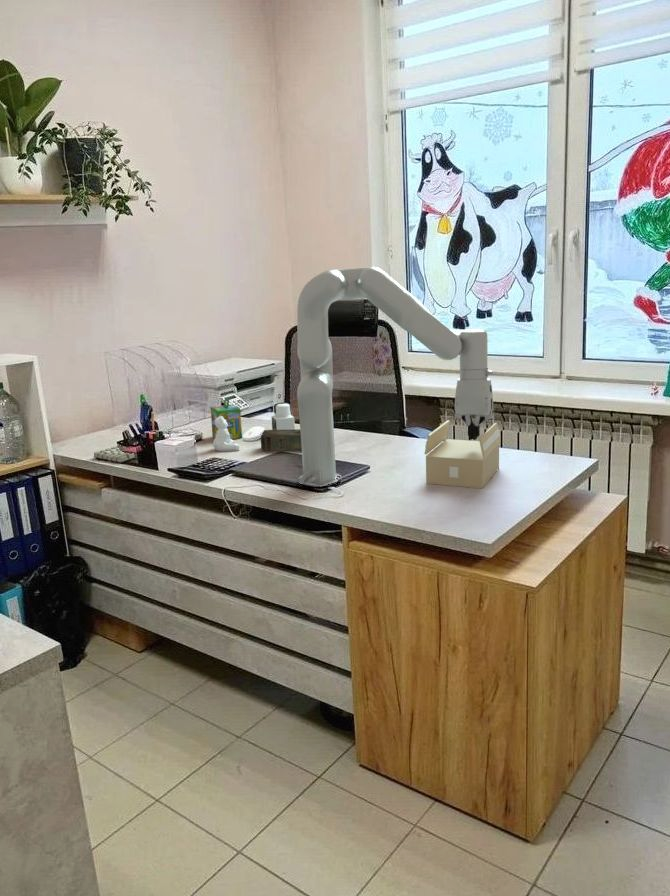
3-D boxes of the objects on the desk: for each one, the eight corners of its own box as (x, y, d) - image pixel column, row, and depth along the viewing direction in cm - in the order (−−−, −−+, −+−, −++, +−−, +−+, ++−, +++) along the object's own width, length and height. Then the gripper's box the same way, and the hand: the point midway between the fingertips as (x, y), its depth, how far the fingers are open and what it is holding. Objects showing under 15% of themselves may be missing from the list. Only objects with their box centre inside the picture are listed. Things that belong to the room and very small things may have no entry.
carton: (482, 488, 197) (482, 460, 195) (426, 483, 204) (425, 456, 202) (499, 468, 215) (499, 442, 213) (446, 464, 221) (446, 439, 219)
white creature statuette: (241, 450, 250) (238, 416, 247) (216, 454, 247) (213, 419, 244) (234, 444, 258) (231, 412, 255) (210, 448, 255) (207, 414, 252)
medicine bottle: (272, 434, 272) (270, 402, 269) (290, 431, 274) (288, 400, 271) (276, 438, 265) (274, 406, 262) (295, 435, 267) (293, 404, 264)
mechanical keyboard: (126, 467, 238) (125, 457, 238) (89, 461, 249) (88, 451, 248) (206, 441, 269) (205, 432, 268) (169, 437, 279) (169, 428, 278)
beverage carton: (316, 451, 245) (315, 432, 244) (260, 453, 246) (259, 434, 245) (318, 445, 253) (317, 426, 251) (264, 447, 254) (262, 428, 252)
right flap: (483, 458, 195) (485, 458, 195) (478, 438, 195) (481, 437, 194) (498, 441, 212) (501, 441, 212) (494, 423, 211) (497, 422, 211)
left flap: (446, 438, 219) (443, 437, 219) (449, 420, 217) (447, 420, 217) (426, 454, 202) (423, 453, 202) (430, 435, 200) (427, 434, 200)
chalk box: (212, 437, 272) (208, 398, 268) (235, 433, 275) (232, 395, 272) (219, 442, 264) (215, 402, 260) (243, 438, 267) (240, 399, 264)
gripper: (503, 372, 201) (503, 437, 205) (451, 371, 207) (451, 434, 212) (497, 377, 194) (497, 443, 199) (443, 376, 200) (444, 440, 205)
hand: (473, 438), depth 205 cm, fingers closed
